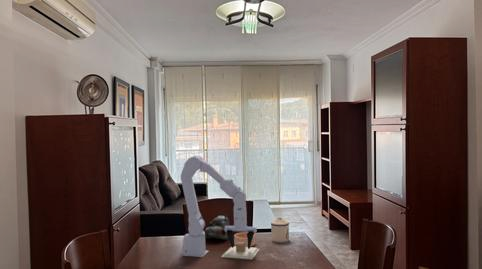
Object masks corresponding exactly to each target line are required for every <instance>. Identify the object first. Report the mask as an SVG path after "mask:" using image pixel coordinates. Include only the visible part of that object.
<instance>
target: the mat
mask: <svg viewBox="0 0 482 269" xmlns="http://www.w3.org/2000/svg"><path fill="white" fill-rule="evenodd" d="M230 248H231V246H230V247H229V248H228V249H227V250H226V251H225V252H224V253H223V254H222V255H221V256H220V257H221V258H229V259H230V258H231V259H243V260H253V259H254V257H255V256H256V254H257V253H258V252H259V250H260V249H261V248H257V250H256V252H255V253H254V254H253V256H252V257H251V258H240V257H228V256H224V254H225V253H226V252H227V251H228V250H229V249H230Z"/></svg>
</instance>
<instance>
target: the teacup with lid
mask: <svg viewBox="0 0 482 269" xmlns="http://www.w3.org/2000/svg"><path fill="white" fill-rule="evenodd" d="M270 225H271V228H270V229H271V241H272V242H276V243H285V242H286V243H287V242H289V241H290V234H289V232H290V230H289V228H290V226H289V225H290V222H289V221H288V220H286V219H284V218H282V216H278V217H277V218H276V219H274V220H271V223H270Z"/></svg>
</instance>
